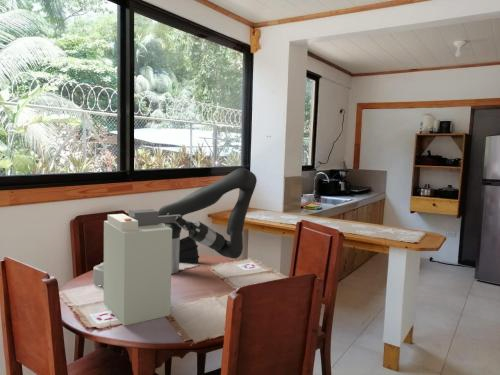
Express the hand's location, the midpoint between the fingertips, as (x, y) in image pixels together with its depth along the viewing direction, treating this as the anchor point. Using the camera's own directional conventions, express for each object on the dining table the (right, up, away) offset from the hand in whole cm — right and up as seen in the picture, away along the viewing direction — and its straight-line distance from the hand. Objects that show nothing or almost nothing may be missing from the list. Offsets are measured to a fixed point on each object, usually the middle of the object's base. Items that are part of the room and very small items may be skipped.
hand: (171, 216), depth 152 cm
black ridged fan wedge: (-4, -29, +57) cm, 64 cm away
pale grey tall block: (-13, -34, -5) cm, 37 cm away
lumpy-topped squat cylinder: (-32, -31, +21) cm, 50 cm away
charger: (-5, -2, -3) cm, 6 cm away
